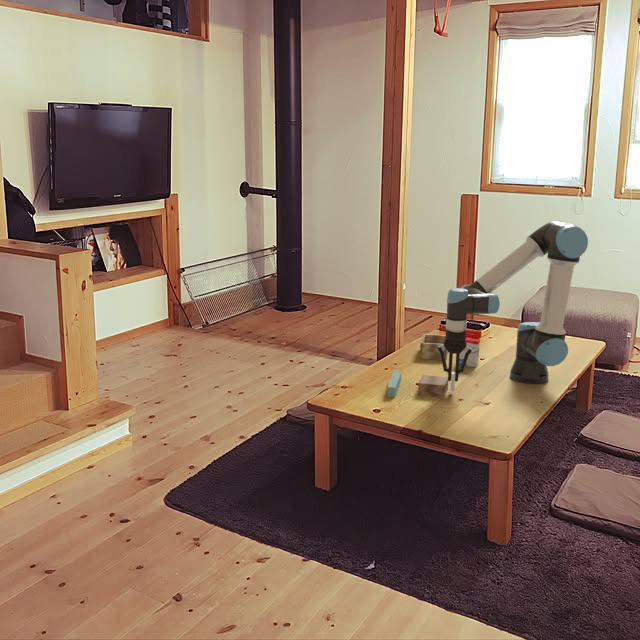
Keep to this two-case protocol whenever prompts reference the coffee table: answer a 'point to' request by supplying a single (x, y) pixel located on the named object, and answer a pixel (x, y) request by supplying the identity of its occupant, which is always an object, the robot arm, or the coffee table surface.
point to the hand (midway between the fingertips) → (452, 388)
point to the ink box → (473, 343)
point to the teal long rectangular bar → (394, 384)
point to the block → (433, 386)
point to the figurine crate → (432, 346)
